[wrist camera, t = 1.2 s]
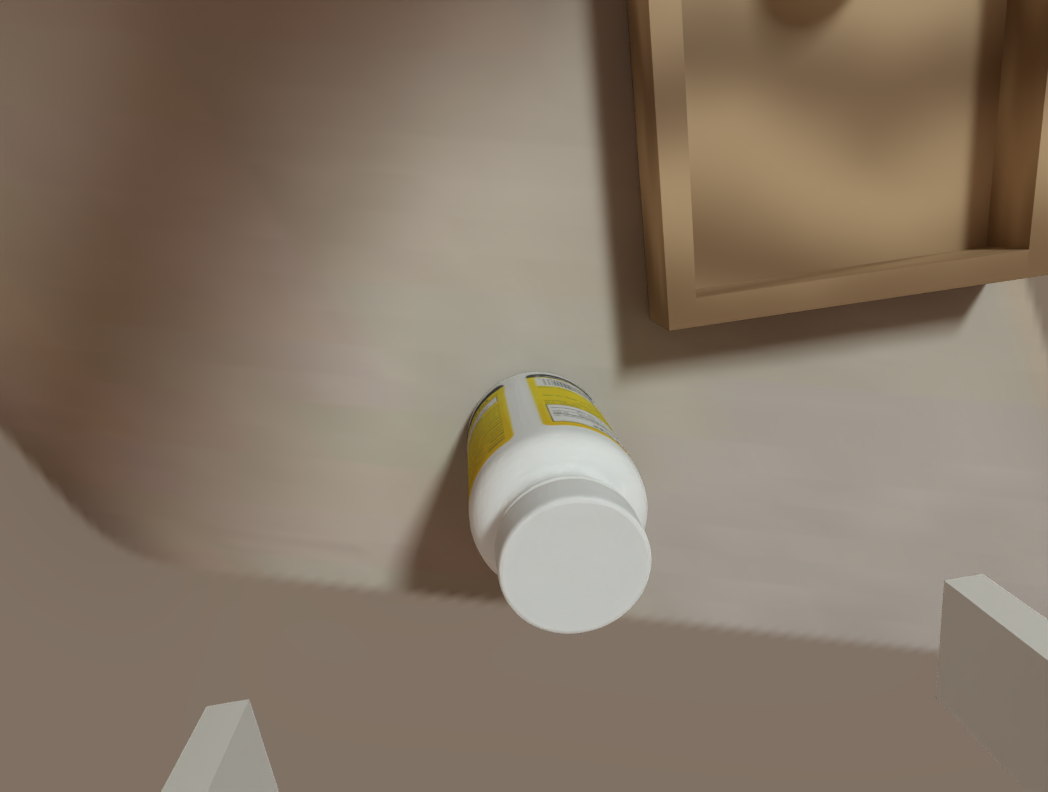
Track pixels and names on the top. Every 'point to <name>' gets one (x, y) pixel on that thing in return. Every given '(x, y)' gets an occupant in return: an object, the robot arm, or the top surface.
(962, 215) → the tray
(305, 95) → the top surface
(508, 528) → the supplement bottle
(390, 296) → the top surface
